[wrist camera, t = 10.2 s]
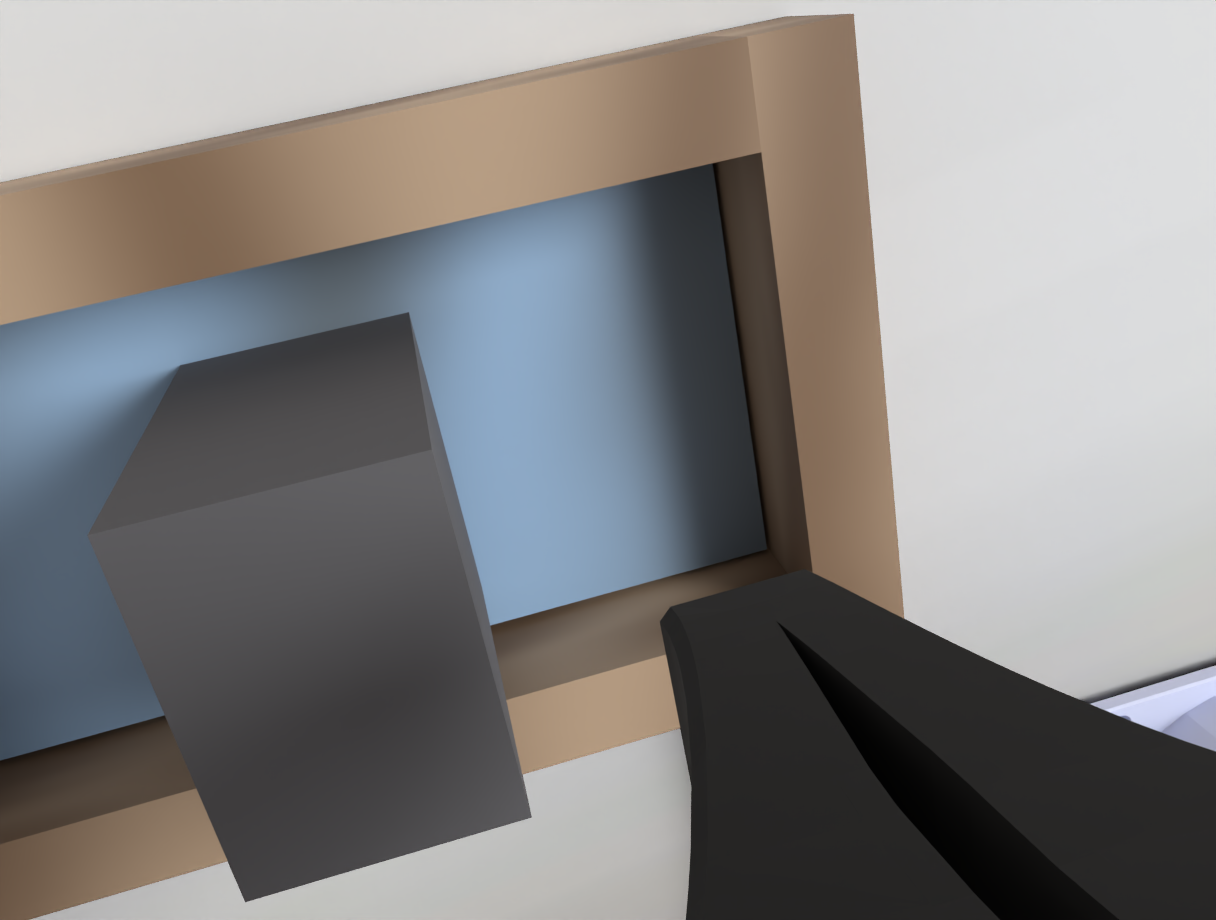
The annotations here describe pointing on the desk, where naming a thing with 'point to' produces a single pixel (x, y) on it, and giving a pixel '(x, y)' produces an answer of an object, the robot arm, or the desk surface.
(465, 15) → the desk surface
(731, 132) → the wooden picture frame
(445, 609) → the tall grey box
